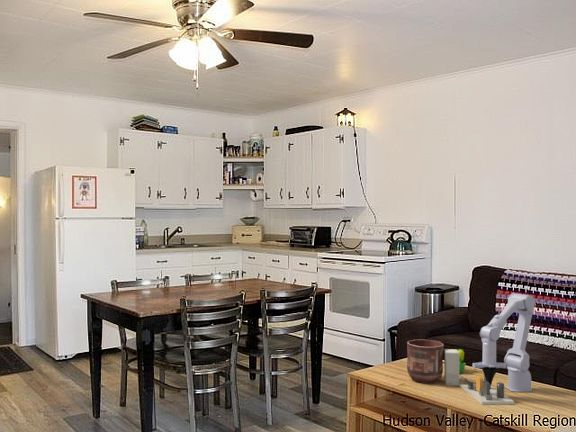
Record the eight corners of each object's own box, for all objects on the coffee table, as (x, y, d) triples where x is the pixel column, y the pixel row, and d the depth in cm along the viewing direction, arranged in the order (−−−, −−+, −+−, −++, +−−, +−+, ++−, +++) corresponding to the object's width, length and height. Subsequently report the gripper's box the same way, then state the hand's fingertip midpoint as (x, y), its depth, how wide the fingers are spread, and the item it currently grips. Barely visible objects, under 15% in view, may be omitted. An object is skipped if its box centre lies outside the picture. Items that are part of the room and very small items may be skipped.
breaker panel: (489, 386, 253) (489, 371, 253) (514, 404, 229) (514, 387, 229) (460, 387, 252) (460, 371, 252) (482, 404, 228) (482, 387, 228)
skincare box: (459, 386, 253) (460, 353, 253) (445, 385, 254) (445, 352, 255) (457, 381, 261) (458, 349, 261) (443, 380, 263) (444, 348, 263)
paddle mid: (479, 390, 242) (479, 375, 243) (483, 393, 238) (483, 378, 238) (476, 390, 242) (476, 375, 242) (479, 393, 238) (480, 378, 238)
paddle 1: (473, 384, 249) (461, 375, 249) (476, 386, 245) (465, 378, 245) (471, 386, 249) (460, 378, 249) (475, 389, 245) (463, 381, 245)
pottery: (445, 386, 253) (446, 347, 253) (407, 383, 256) (407, 345, 256) (441, 376, 270) (441, 340, 271) (405, 374, 273) (406, 338, 274)
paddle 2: (485, 395, 235) (485, 380, 236) (489, 398, 231) (490, 383, 231) (482, 395, 235) (482, 380, 235) (486, 398, 231) (486, 383, 231)
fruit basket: (443, 368, 285) (443, 346, 285) (459, 367, 286) (459, 346, 286) (451, 374, 273) (452, 352, 273) (468, 374, 274) (468, 351, 274)
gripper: (477, 355, 236) (476, 386, 236) (509, 355, 237) (509, 386, 237) (470, 352, 243) (470, 382, 243) (501, 351, 244) (501, 382, 244)
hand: (489, 384), depth 241 cm, fingers closed
